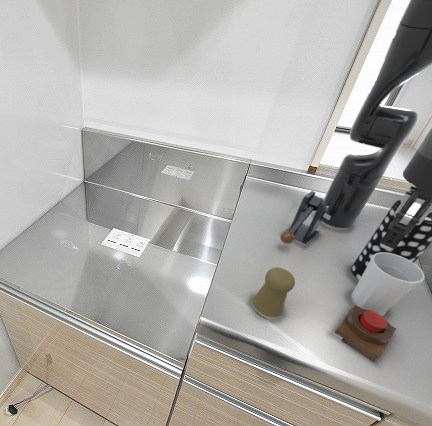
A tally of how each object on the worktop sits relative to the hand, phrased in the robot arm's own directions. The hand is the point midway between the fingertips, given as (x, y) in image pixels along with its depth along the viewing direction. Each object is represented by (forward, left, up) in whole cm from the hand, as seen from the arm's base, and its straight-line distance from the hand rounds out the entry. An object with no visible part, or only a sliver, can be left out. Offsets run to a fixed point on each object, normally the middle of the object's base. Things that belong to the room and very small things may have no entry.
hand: (388, 244), depth 51 cm
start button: (+3, +5, -16) cm, 17 cm away
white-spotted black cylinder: (-15, +1, -20) cm, 25 cm away
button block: (+3, +5, -19) cm, 20 cm away
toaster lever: (-14, -17, -13) cm, 25 cm away
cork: (+12, -10, -20) cm, 25 cm away
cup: (-6, +3, -20) cm, 21 cm away
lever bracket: (-18, -17, -19) cm, 32 cm away
